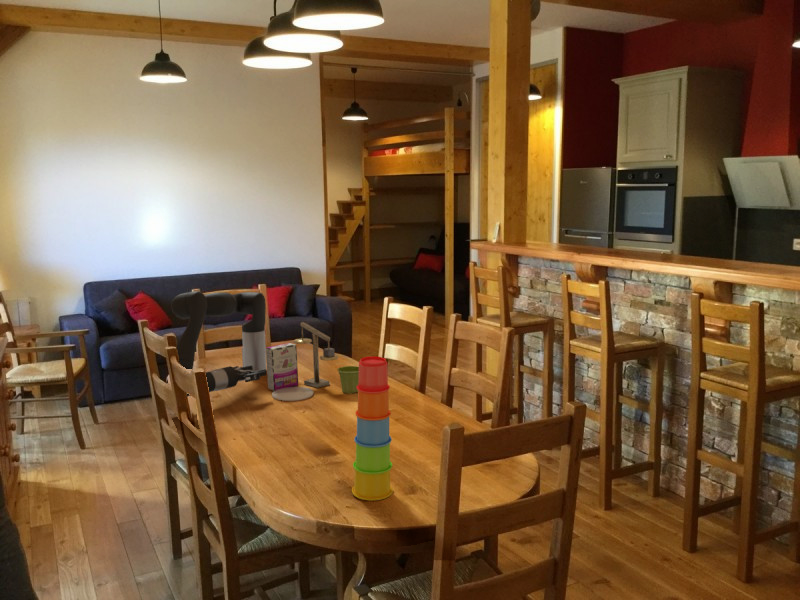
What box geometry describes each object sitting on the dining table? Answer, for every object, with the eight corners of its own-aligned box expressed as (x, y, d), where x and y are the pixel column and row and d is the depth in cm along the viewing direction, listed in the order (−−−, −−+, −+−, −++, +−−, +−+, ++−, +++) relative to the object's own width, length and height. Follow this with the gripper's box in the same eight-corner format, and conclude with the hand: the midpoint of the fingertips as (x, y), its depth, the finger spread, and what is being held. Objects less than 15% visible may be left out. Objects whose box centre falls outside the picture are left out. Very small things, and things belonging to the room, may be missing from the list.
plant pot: (364, 388, 274) (364, 365, 272) (361, 395, 265) (360, 372, 263) (340, 387, 275) (339, 365, 273) (335, 394, 265) (335, 372, 264)
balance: (291, 381, 285) (289, 322, 281) (305, 377, 290) (303, 320, 286) (329, 391, 270) (327, 329, 266) (343, 387, 275) (341, 326, 271)
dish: (264, 395, 266) (263, 393, 266) (295, 387, 277) (295, 384, 276) (289, 403, 256) (289, 400, 256) (321, 394, 267) (321, 391, 266)
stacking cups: (394, 484, 185) (392, 353, 180) (391, 501, 175) (388, 363, 170) (354, 483, 186) (351, 353, 181) (349, 501, 176) (345, 363, 170)
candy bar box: (291, 383, 282) (289, 342, 279) (298, 385, 278) (297, 344, 276) (266, 389, 275) (265, 347, 272) (274, 391, 271) (272, 349, 268)
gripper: (232, 372, 250) (270, 363, 262) (209, 365, 260) (247, 357, 272) (233, 392, 251) (271, 383, 263) (210, 385, 261) (248, 376, 273)
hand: (258, 370), depth 267 cm, fingers open, 8 cm apart
